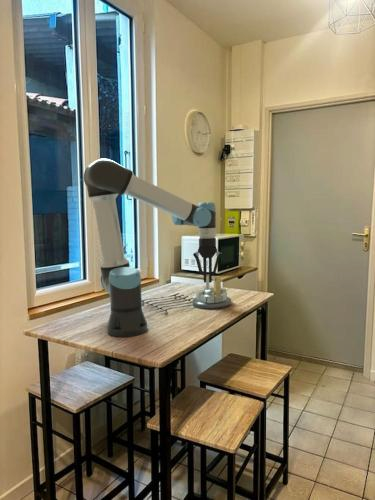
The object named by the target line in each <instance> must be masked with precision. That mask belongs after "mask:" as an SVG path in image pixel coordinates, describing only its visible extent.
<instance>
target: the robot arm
mask: <svg viewBox="0 0 375 500" xmlns="http://www.w3.org/2000/svg"><path fill="white" fill-rule="evenodd" d="M83 183H84V184H85V186H86V190H87V195H88V199H89V200H90V201H92V202H93V206H94V214H95V220H96V225H97V233H98V238H99V243H100V250H101V255H102V256H101V257H102V262H101V264H100V265H99V268H100V274H101V276H100V283H101V286H102V288H103V289H104V291H105V292H106V293H107V294H109V299H110V300H109V301H110V314H109V318H108V321H107V326H106V333H107V334H108V335H109V336H113V337H119V338H121V337H122V338H123V337H124V338H125V337H134V336H138V335H142V334H144V333H146V332H147V330H148V321H147V320H146V319H147V318H146V317H145V314H144V312H143V308H142V307H143V303H142V302H143V301H142V277H141V272H140V270H138V269H137V268H134V267H131V266H130V261H129V260H128V259H127V258H126V257H125V252H124V247H123V240H122V233H121V228H120V219H119V213H118V208H117V206H118V205H117V201H116V199H117V197H118V196H119V195H120V196H124V195H126V196H130V197H132V198H133V199H136V200H138V201H140V202H142V203H145V204H147V205H149V206H151V207H153V208H156V209H157V210H160V211H162V212H164V213H167V214H168V215H171V220H172V223H173V225H175V226H192V227H198V248H197V251H196V252H193V254H192V256H193V257H194V258H195V261H196V265H197V269H198V272H199V274H200V275H202V276H203V283H205V284H206V285H205V287H206V290H209V288H210V283H212V281H213V280H212V279H213V277H212V276H213V275H216V272H217V269H218V264H219V261H220V258H221V256H222V254H223V253H222V252H220V251H218V248H217V238H216V237H217V233H216V232H217V227H216V224H217V223H216V222H217V221H216V220H217V219H216V218H217V217H216V216H217V215H216V214H217V211H216V204H215V202H212V201H210V202H202V201H201V202H198V205H197V204H194V203H191V202H189V201H188V200H187V199H184V198H182V197H180V196H177V195H175V193H171V192H169V191H168V190H165V189H164V188H161V187H159V186H157V185H155V184H153V183H151V182H149V181H147V180H144V179H142V178H141V177H138V176H137V175H135V174H134V171H133V170H131V169H128V168H127V167H125V166H123V165H121V164H119V163H117V162H116V161H114V160H111V159H109V158H100V159H97V160H95V161H93V162H91V163H90V164H89V165H87V167H86V168H85V170H84V173H83ZM199 255H200V256H201V257H202V262H203V268H202V263H201V259H200V257H199ZM215 255H216V256H215ZM214 256H215V257H216V258H215V264H214V266H213V257H214ZM207 259H208V268H207ZM207 269H208V270H207ZM207 272H208V274H207Z"/></svg>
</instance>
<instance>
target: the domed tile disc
mask: <svg viewBox="0 0 375 500" xmlns="http://www.w3.org/2000/svg"><path fill="white" fill-rule="evenodd" d="M221 281H222V278H221V276H219V275H217V276H213V288H214V295H204V289H206V286H205V287H203V289H201V290H197V291H196V295H195V296H196V297H195V298H196V300H197V301H199V302H204V303H219V302H224V301H226V300H227V297H228V291H227V289H226V288H224V287H223V288H222V282H221Z"/></svg>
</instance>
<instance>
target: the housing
mask: <svg viewBox="0 0 375 500" xmlns="http://www.w3.org/2000/svg"><path fill="white" fill-rule="evenodd" d="M203 290H204V295H214V287H209V290H206V289H204V288H203ZM192 306H193V307H194V308H196V309H197V308H198V309H202V310H222V309H226V308H229V307H230V306H232V299H231V298H230V297H229V296H227V300H226V301H224V302H219V303H204V302H199V301H197V300H196V297H194V298H193V299H192Z"/></svg>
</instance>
